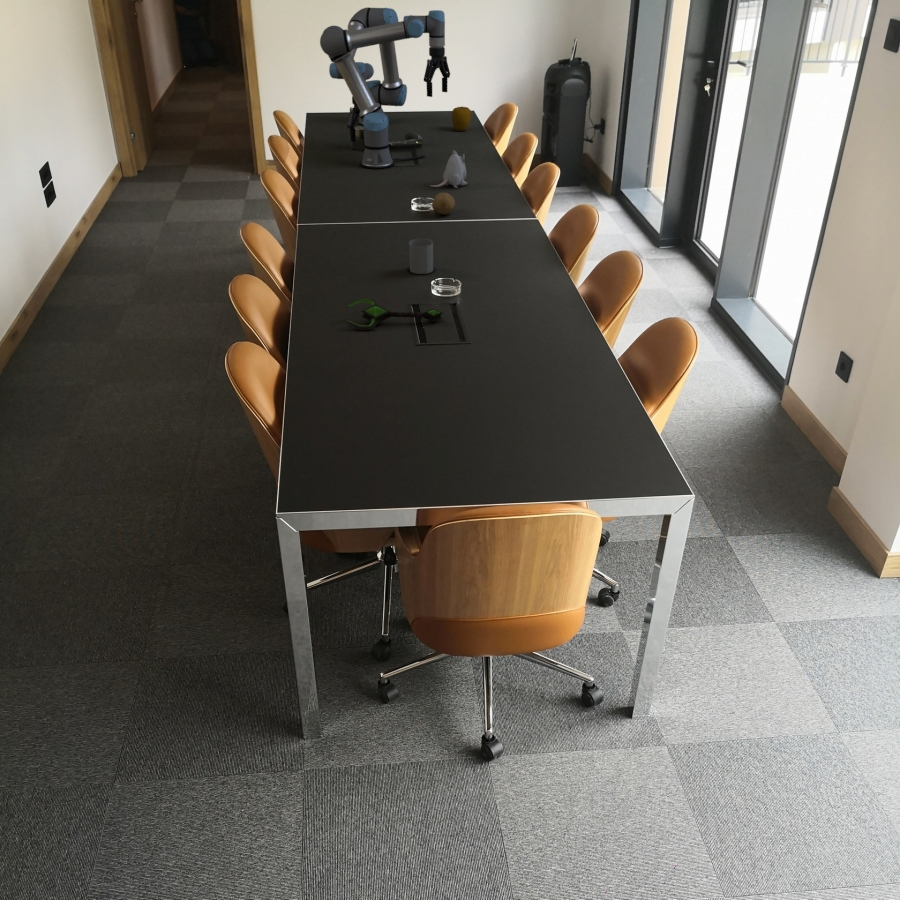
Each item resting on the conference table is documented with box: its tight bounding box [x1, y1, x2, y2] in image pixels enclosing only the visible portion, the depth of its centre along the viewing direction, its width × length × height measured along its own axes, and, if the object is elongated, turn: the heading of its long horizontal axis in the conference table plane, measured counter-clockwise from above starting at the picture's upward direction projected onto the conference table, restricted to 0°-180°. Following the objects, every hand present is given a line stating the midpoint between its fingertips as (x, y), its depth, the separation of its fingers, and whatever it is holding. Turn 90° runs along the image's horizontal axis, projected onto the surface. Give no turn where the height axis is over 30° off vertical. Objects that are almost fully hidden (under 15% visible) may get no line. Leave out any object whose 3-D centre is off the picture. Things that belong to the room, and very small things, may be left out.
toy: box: [428, 149, 468, 189], centre depth 390 cm, size 9×24×15 cm, turn 137°
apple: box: [451, 105, 472, 132], centre depth 487 cm, size 11×11×13 cm
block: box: [351, 125, 365, 152], centre depth 452 cm, size 7×7×11 cm
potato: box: [431, 192, 456, 216], centre depth 360 cm, size 10×14×8 cm
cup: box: [408, 237, 434, 275], centre depth 305 cm, size 8×8×10 cm
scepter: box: [345, 298, 443, 331], centre depth 269 cm, size 6×13×30 cm
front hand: (437, 94), depth 424 cm, fingers open, 13 cm apart
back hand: (361, 139), depth 452 cm, fingers open, 13 cm apart
